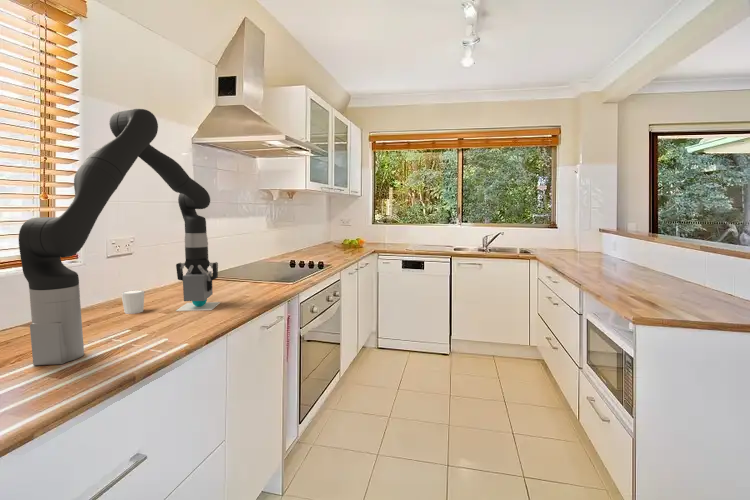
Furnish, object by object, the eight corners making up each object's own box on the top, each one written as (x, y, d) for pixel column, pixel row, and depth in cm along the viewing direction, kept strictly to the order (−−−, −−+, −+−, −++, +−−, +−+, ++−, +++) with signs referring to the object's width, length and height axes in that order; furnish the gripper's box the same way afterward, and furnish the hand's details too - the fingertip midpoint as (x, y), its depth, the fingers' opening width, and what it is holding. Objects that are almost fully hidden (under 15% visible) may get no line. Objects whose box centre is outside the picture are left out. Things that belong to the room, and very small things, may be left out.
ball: (208, 305, 152) (204, 306, 147) (194, 306, 151) (189, 307, 146) (208, 292, 152) (204, 292, 147) (194, 292, 152) (190, 293, 147)
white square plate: (211, 310, 144) (211, 309, 144) (175, 311, 142) (175, 310, 142) (220, 302, 156) (220, 301, 156) (187, 303, 154) (187, 302, 154)
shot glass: (135, 314, 138) (133, 294, 137) (117, 313, 139) (116, 293, 138) (150, 309, 144) (149, 290, 144) (133, 308, 146) (132, 289, 145)
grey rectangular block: (204, 300, 144) (203, 275, 143) (183, 301, 143) (182, 276, 142) (212, 294, 154) (211, 271, 154) (193, 294, 154) (192, 271, 153)
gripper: (171, 246, 142) (173, 294, 144) (214, 246, 144) (216, 293, 146) (179, 244, 150) (181, 289, 151) (220, 244, 151) (221, 288, 153)
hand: (198, 291), depth 149 cm, fingers closed on grey rectangular block, 7 cm apart
